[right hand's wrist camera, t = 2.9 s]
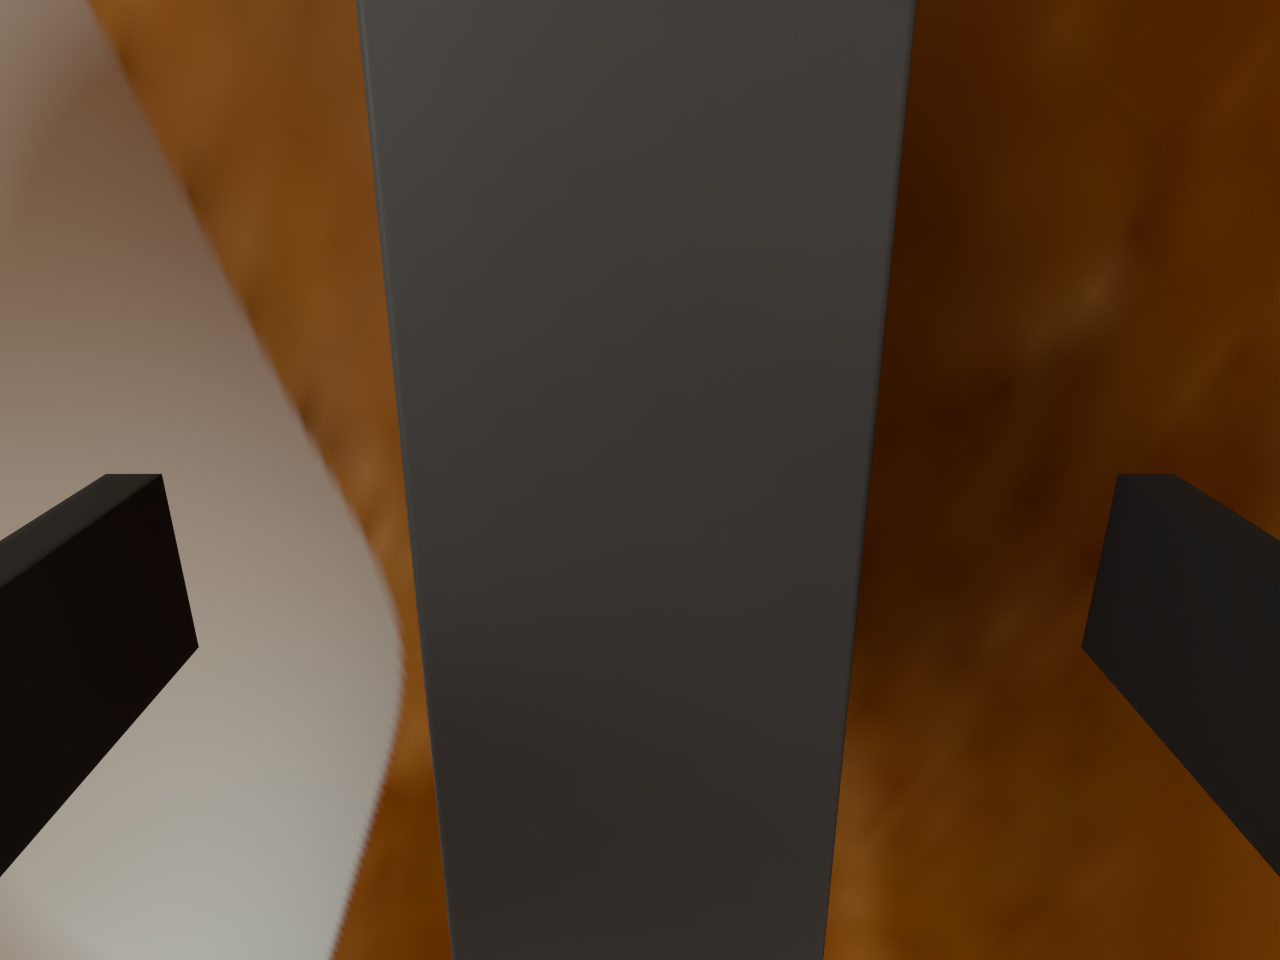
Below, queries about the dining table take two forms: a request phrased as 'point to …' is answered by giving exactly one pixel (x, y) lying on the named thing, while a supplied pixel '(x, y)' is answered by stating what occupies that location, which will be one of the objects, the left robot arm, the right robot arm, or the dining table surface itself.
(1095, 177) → the dining table surface
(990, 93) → the dining table surface
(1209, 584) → the right robot arm
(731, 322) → the bar
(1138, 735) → the dining table surface
